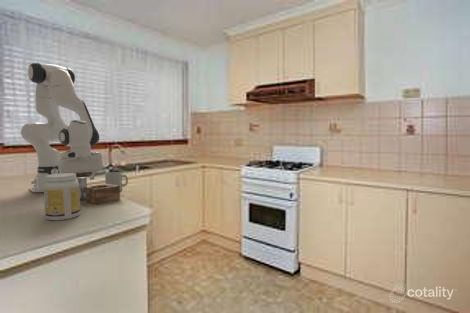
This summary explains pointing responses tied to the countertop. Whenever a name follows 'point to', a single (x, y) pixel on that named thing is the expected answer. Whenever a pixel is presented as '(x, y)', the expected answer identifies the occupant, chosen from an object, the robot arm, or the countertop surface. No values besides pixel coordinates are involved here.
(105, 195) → the bore block
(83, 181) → the cylinder
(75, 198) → the supplement tub
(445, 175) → the countertop surface
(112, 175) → the mug
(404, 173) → the countertop surface
